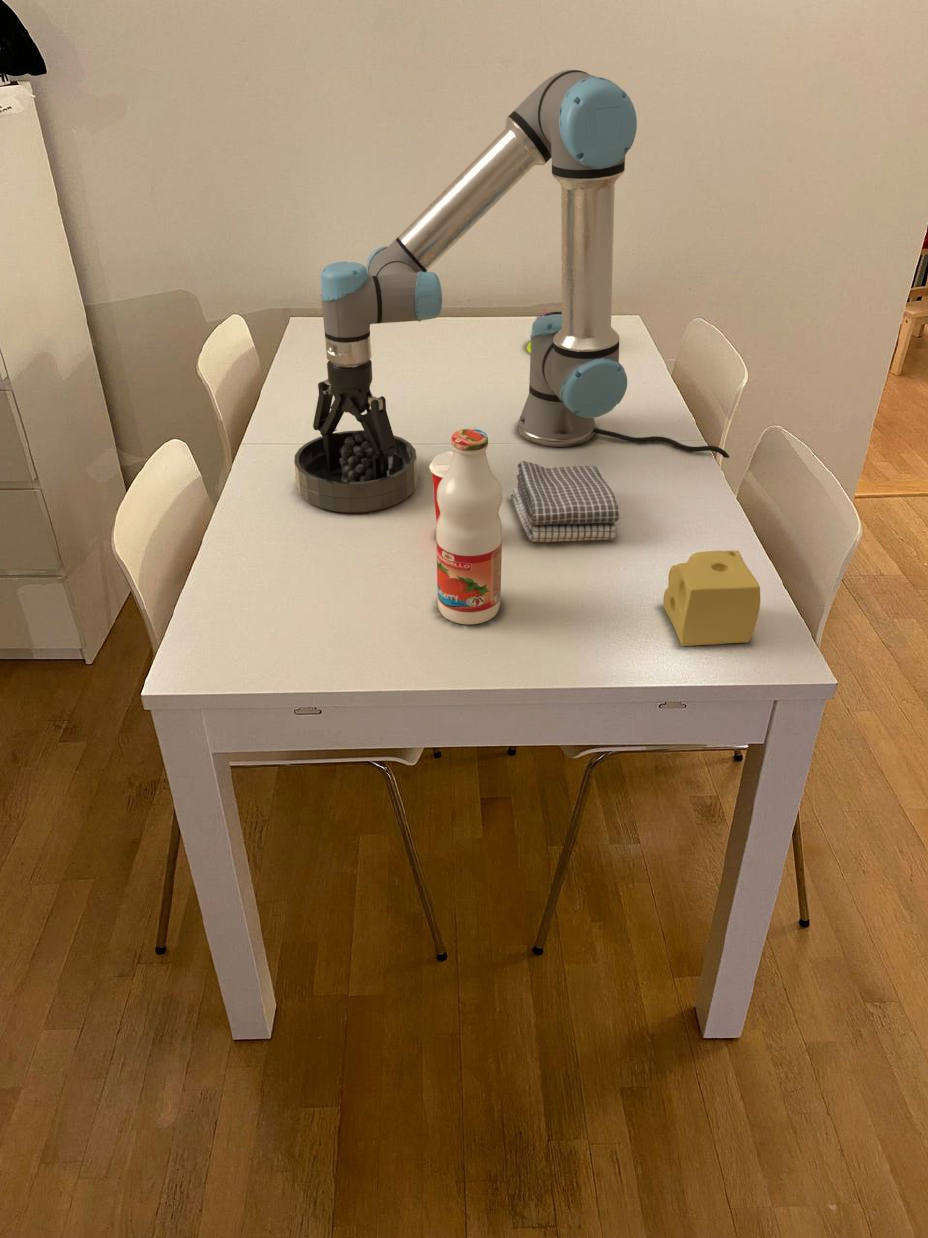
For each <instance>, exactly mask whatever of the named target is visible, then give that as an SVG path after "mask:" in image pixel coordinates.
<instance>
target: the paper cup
mask: <svg viewBox="0 0 928 1238" xmlns="http://www.w3.org/2000/svg"><path fill="white" fill-rule="evenodd" d="M453 453H454V450H453V451H452V450H451V451H450V450H449V451H445V452H440V453H439V454H437V455H435V456H434V458H433V459H432V460H431V463H430V464H429V466H428V468H429V470H430V472H431V474H432V486H433V498H434V509H435V510H434V511H435V521H436V524H437V521H438V518H439V516H440V509H439V506H438V503H437V488H438V485H439V483H440V481H441V480H442V478H443V477H444V475H445V474H446V472H447V470H448V468H449V465H450V462H451V459H452V456H453Z"/></svg>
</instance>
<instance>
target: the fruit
mask: <svg viewBox="0 0 928 1238" xmlns="http://www.w3.org/2000/svg"><path fill="white" fill-rule="evenodd" d="M359 430H360V431H358V430H355V431H356V432H354V433H353V435H352V436H353V437H347V438H346V439H345V446H343V447H342V448H340V449H339V455H341V456H342V458H340V464H341V466H342V470H341V471H342V481H343V482H366V481H371V480H373V464H372V455H374V454H375V452H374V450H373V448H372V446H371V444H370V442H369V439H368V437H367V435H366V433H365V431H362V430H363V429H359ZM358 444H362V446H358ZM380 449H381V447H380Z"/></svg>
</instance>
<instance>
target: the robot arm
mask: <svg viewBox="0 0 928 1238" xmlns="http://www.w3.org/2000/svg"><path fill="white" fill-rule="evenodd" d="M637 119H638V118H637V113H636V110H635V106H634V103H633V102H632V99H631V98H630V96H629V95H628V94H627V92H626V91H625V90H624V89H623V88H621V87H620V86H619V85H618V84H617V83H616V82H614V81H612V80H610V79H607V78H605V77H601V76H595V75H593V74H590V73H588V72H586V71H583V70H579V69H566V70H562V71H559V72H557V73H554V74H553V75H551V76H549V77H548V78H546V79H545V80H544V81H542V83H541V84H539V85H538V86H537V87H536V88H535V89H534V90H533V91H531V93H530V94H529V95H527V97H526V98H524V100H523V101H522V102H521V103H520V104H519V105H518V106H517V107H516V108H515V109H514V110H513V111H512V112H511V113H510V114H509V115H508V116H507V117H506V119H505V127H504V129H503V130H502V132H500V134H499V135H497V136H496V137H495V139H494V140H492V141H491V142H490V144H489V145H488V146H486V148H485V149H484V150H482V152H481V153H480V154H479V155H477V157H476V158H475V159H473V160H472V162H471V163H470V164H468V166H467V167H465V169H464V170H462V172H461V173H460V174H459V175H457V177H455V179H454V180H453V181H452V182H451V183H450V184H449V185H448V186H447V187H446V188H445V189H443V191H442V192H441V193H440V194H439V195H438V196H437V197H436V198H435V199H434V200H433V201H432V202H431V203H430V204H429V205H428V206H427V207H426V208H425V209H424V210H423V211H422V212H421V213H420V214H419V215H418V216H417V217H416V218H415V219H414V220H413V221H412V222H411V224H409V226H408V227H406V229H405V230H404V231H403V232H402V233H400V235H398V236H397V237H396V238H395V239H394V240H393V241H392V242H391V243H390V244H389V245H386V246H381V247H378V248H376V249H375V250H373V251H372V252H371V253H370V255H369V256H368V258H367V261H366V266H365V265H364V264H362V263H361V262H354V261H337V262H333V263H330V264H328V265H326V266H324V267H323V269H322V270H321V273H320V287H321V288H320V290H321V293H320V297H321V309H322V321H323V329H324V331H323V332H324V342H325V343H324V344H325V352H326V353H325V354H326V359H327V363H326V368H327V369H326V371H327V379H325V380H323V381H320V382H318V384H317V390H318V397H317V403H316V408H315V413H314V417H313V423H312V424H313V425H312V428H313V430H314V431H318V432H320V435H321V436H323V445H324V450H325V451H326V460H327V471H330V472H331V471H333V470H335V469H337V468H339V467H341V464H340V455H339V437H338V434H337V432H336V431H338V429H337V427H338V425H339V423H340V421H341V419H342V417H343V416H344V413H348V414H350V415H352V416H354V418H355V419H356V421H357V423H358V422H359V423H360V425H361V427H362V430H364V431H365V433H366V435H367V437H368V439H369V442H370V444H371V446H372V448H373V450H374V452H375V454H374V455H372V464H373V480H377V479H381V478H384V477H387V471H388V469H389V461H388V456H389V455H391V454H393V453H395V452H397V450H398V449H397V445H396V442H395V439H394V433H393V429H392V425H391V422H390V419H389V415H388V411H387V400H386V397H384V396H383V395H381V396H379V397H377V396H374V395H373V394H372V391H371V384H372V381H373V362H372V360H371V359H372V345H371V325H379V324H391V323H405V322H422V321H427V320H434V319H437V318H438V317H440V315H441V312H442V308H443V292H442V291H443V290H442V285H441V281H440V278H439V276H438V274H436V272H433V271H429V270H430V269H431V268H432V266H434V265H435V264H436V263H437V262H438V261H439V260H440V259H441V258H442V257H443V256H444V255H445V254H446V253H448V251H449V250H450V249H451V248H452V247H453V246H454V245H455V244H456V243H458V241H460V239H461V238H463V237H464V235H465V234H467V233H468V232H469V230H470V229H471V228H473V227H474V226H475V225H476V223H478V222H479V221H480V220H481V219H482V218H483V217H484V216H485V215H486V214H487V213H488V212H489V211H490V210H491V209H492V208H493V207H494V206H495V205H496V204H497V203H498V202H499V201H500V200H501V199H502V198H503V197H504V196H506V194H507V193H508V192H509V191H511V189H512V188H513V187H515V185H516V184H517V183H518V182H519V181H520V180H522V178H524V177H525V176H526V175H527V174H528V173H529V172H530V171H531V170H532V169H533V168H534V167H535V166H545V164H547V163H548V162H549V161H550V160H551V176H552V177H553V178H554V179H555V180H556V181H557V182H558V183H559V184H560V189H561V191H560V195H561V196H560V200H561V201H560V205H561V206H560V207H561V208H560V209H561V211H560V212H561V213H560V214H561V216H560V218H561V219H560V220H561V223H560V224H561V226H560V227H561V228H560V229H561V232H560V233H561V236H560V237H561V312H562V314H554V315H547V316H543V315H542V317H538V318H537V319H536V318H535V320H534V321H533V322H532V326H531V332H530V333H531V334H530V335H529V338H530V342H531V353H529V354H530V355H529V356H530V357H529V384H528V386H529V387H528V395H527V398H526V400H525V402H524V405H523V407H522V408H523V409H522V411H521V412H520V416H519V419H518V434H519V435H520V436H521V437H522V438H523V439H525V440H527V441H528V442H530V443H533V444H536V445H540V446H545V447H555V448H565V447H575V446H578V445H581V444H585V443H587V442H589V441H590V440H592V439H593V438H594V435H595V434H598V435H601V436H602V435H603V436H606V437H611V438H615V439H619V440H621V441H625V442H631V443H649V442H650V443H651V442H660V443H665V444H669V445H671V446H673V447H675V448H677V449H680V450H682V451H685V452H692V453H693V452H695V453H696V452H715V453H718V454H720V455H721V456H722V457H723V458H725V459H729V458H730V455H729V453H727V452H726V450H724V449H723V448H721V447H719V446H716V445H701V446H700V445H699V446H691V445H685V444H683V443H680V442H679V441H676V440H674V439H672V438H669V437H665V436H657V435H655V436H653V435H652V436H643V437H642V436H641V437H637V436H636V437H635V436H631V435H625V434H621V433H618V432H614V431H610V430H605V429H601V428H596V421H595V418H599V417H602V416H604V415H607V414H608V413H610V412H611V411H613V410H614V408H615V407H616V406H617V405H619V404H620V403H621V402H622V400H623V398H625V397H624V396H625V395H626V392H627V389H628V375H627V372H626V371H625V370H626V369H625V368H624V366H623V365H622V364H621V363H620V334H619V333H618V332H617V331H616V329H615V328H613V327H612V307H613V306H612V304H613V269H614V268H613V267H614V266H613V265H614V263H613V261H614V224H615V223H614V221H615V188H616V187H615V185H616V182H617V181H618V180H619V178H621V176H622V175H623V174H624V173H625V169H626V155H627V154H628V152H629V150H631V148H632V147H633V144H634V142H635V139H636V135H637V130H638V120H637ZM333 397H334V398H333ZM333 399H334V400H333ZM365 412H366V413H365ZM333 433H334V434H333ZM380 447H381V449H380Z"/></svg>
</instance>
